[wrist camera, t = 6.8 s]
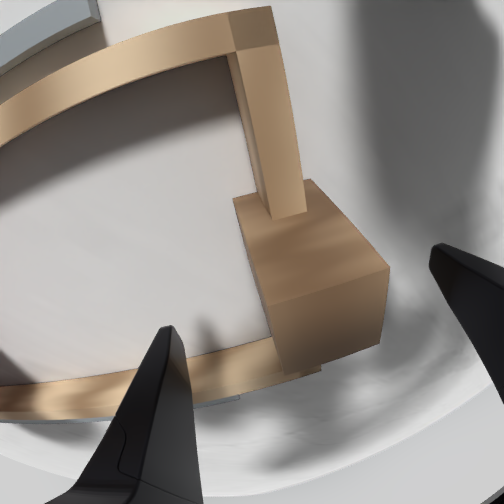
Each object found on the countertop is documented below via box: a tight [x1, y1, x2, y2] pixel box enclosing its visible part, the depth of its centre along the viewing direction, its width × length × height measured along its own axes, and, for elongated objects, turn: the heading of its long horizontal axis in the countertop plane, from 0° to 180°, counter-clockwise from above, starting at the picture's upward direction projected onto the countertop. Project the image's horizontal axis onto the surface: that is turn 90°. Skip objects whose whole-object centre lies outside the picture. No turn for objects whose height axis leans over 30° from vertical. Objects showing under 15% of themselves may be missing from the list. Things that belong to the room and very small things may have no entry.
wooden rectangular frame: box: [0, 6, 390, 420], centre depth 10 cm, size 28×16×6 cm, turn 101°
